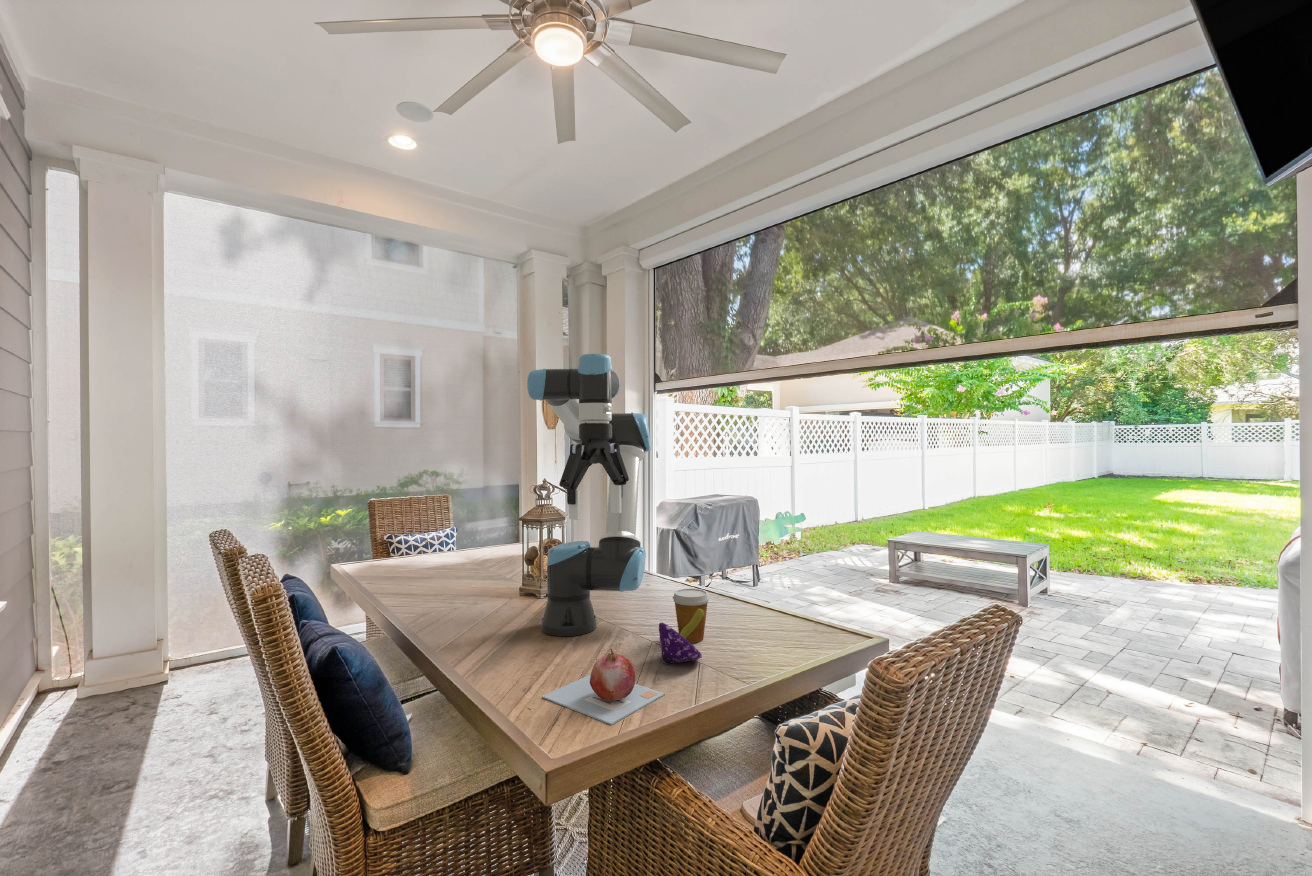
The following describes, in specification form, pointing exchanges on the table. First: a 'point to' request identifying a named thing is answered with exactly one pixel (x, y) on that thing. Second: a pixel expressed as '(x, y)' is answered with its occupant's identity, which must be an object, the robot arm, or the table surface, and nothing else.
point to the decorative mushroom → (679, 641)
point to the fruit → (612, 677)
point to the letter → (592, 705)
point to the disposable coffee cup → (691, 611)
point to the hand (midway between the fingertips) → (596, 516)
